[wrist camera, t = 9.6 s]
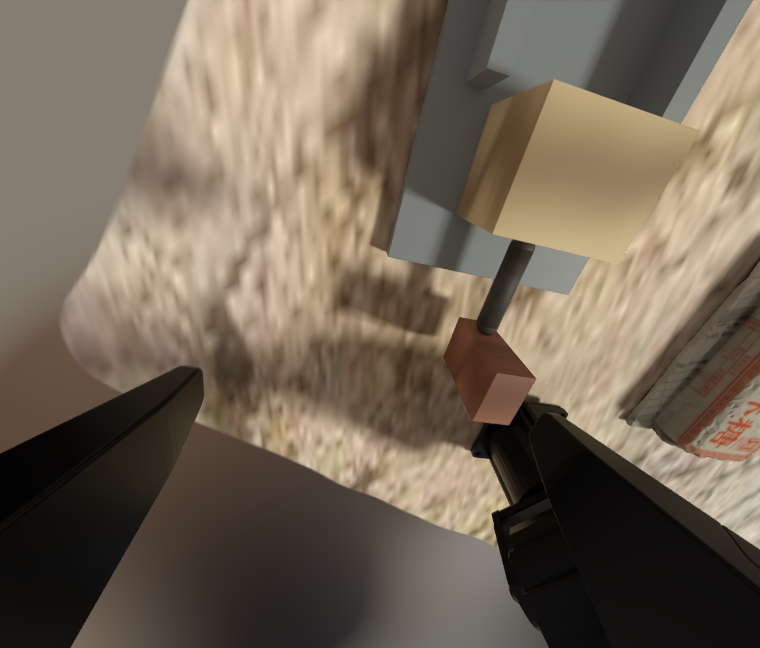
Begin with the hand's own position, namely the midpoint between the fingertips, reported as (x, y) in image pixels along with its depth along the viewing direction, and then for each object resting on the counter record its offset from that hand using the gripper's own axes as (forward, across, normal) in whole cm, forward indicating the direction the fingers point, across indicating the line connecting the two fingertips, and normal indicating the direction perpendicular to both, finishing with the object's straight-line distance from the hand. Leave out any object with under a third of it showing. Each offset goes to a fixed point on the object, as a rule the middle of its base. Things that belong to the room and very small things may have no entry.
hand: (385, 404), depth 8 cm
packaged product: (+13, -31, 0) cm, 33 cm away
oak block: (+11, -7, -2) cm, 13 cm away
